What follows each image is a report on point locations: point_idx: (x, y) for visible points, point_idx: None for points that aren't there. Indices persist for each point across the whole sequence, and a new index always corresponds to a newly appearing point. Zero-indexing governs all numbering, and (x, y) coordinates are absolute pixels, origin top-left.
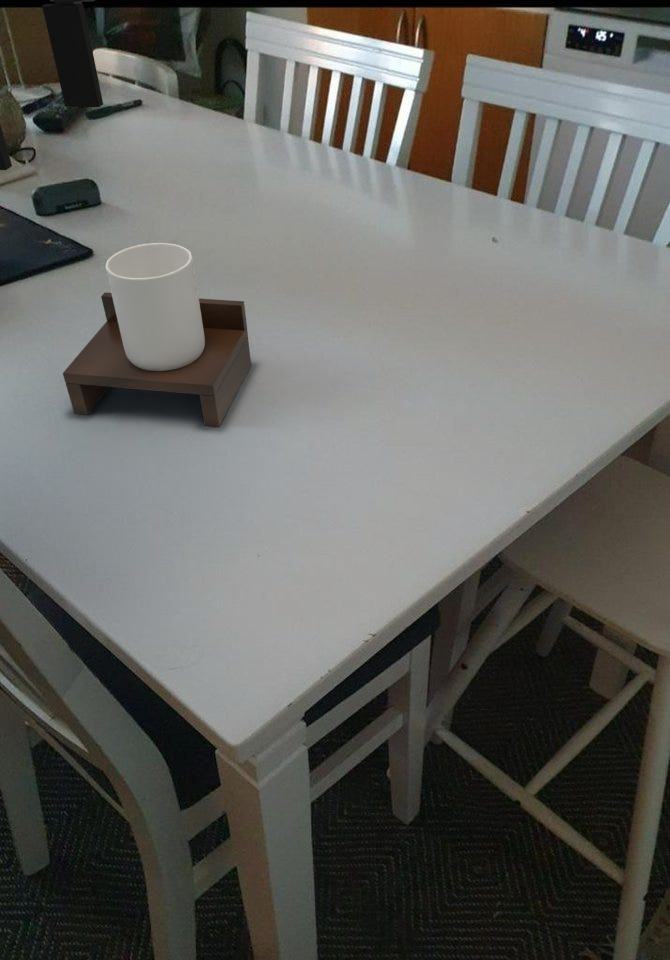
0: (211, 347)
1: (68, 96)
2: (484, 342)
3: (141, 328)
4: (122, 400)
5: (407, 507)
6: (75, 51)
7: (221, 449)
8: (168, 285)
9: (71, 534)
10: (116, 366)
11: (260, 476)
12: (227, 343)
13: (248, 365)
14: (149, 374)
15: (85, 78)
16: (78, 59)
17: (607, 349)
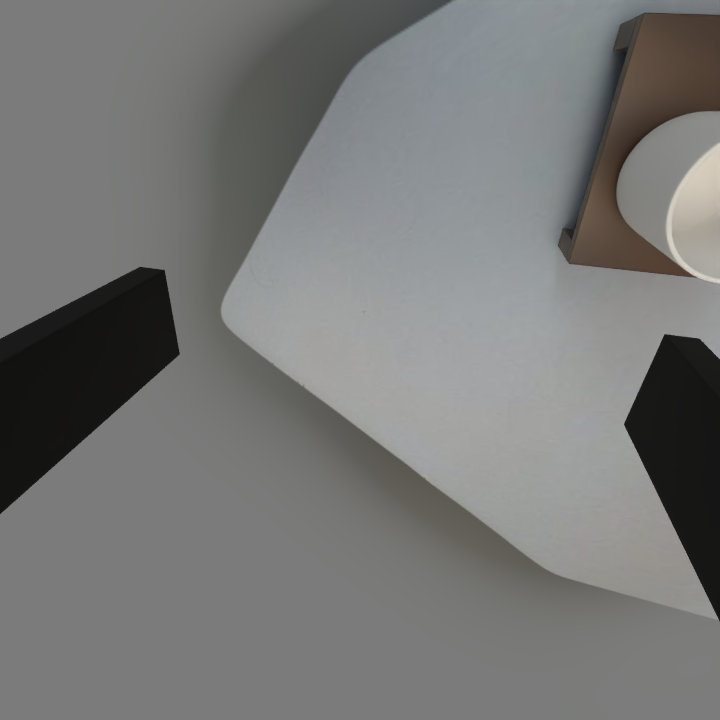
0: None
1: (668, 365)
2: None
3: (640, 182)
4: None
5: (426, 411)
6: (703, 506)
7: (513, 256)
8: (666, 251)
9: (373, 131)
10: (648, 107)
11: (466, 301)
12: None
13: None
14: (612, 170)
15: (658, 457)
16: (688, 490)
17: (645, 568)
